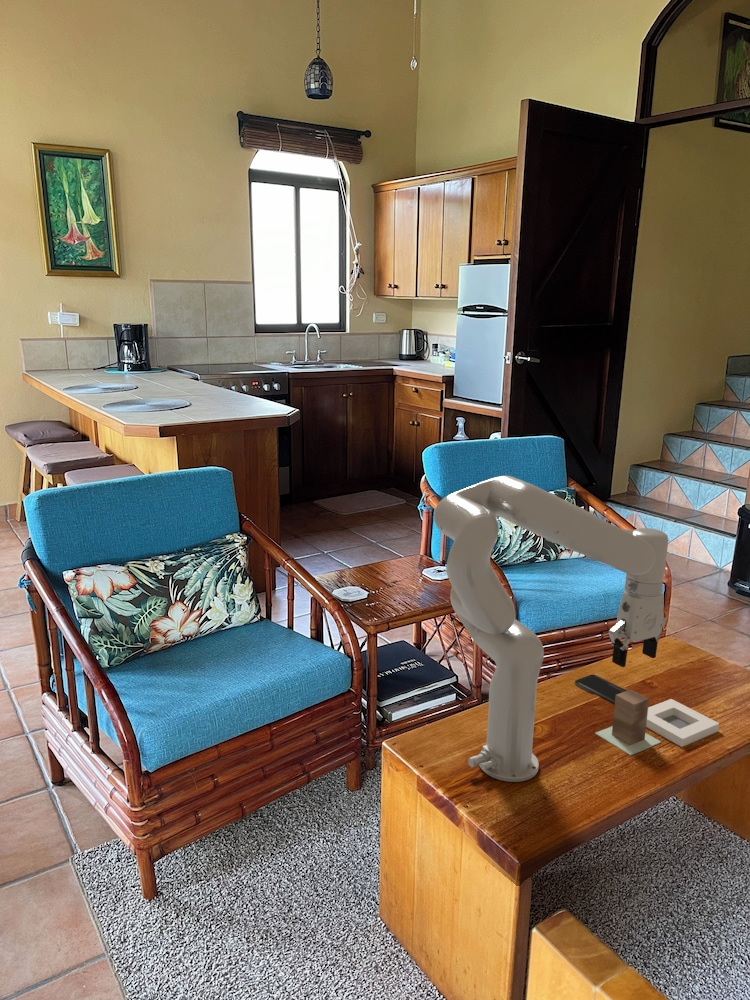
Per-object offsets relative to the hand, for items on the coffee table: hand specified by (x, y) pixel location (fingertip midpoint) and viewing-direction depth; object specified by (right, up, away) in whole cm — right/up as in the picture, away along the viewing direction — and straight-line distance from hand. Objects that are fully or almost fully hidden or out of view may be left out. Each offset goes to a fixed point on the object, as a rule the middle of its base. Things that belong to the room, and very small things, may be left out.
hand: (633, 660), depth 162 cm
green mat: (0, -19, +5) cm, 20 cm away
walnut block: (0, -18, +5) cm, 19 cm away
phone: (+2, -14, +27) cm, 30 cm away
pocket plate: (+13, -18, +10) cm, 25 cm away
